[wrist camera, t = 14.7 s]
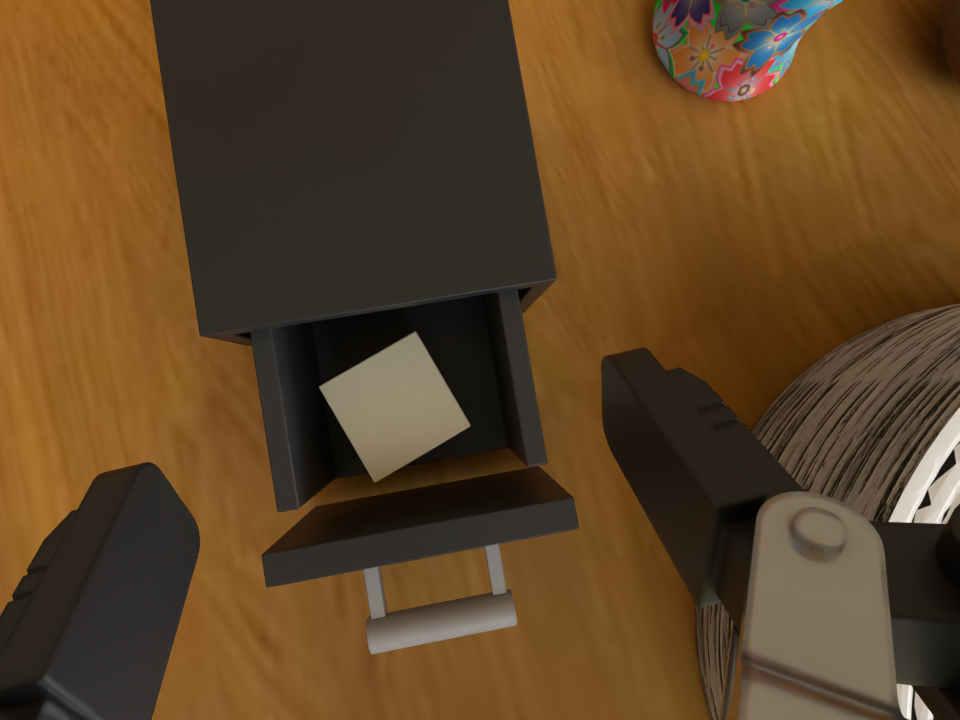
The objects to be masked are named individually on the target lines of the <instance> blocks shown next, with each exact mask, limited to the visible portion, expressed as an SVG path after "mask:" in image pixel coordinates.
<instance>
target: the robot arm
mask: <svg viewBox="0 0 960 720" xmlns="http://www.w3.org/2000/svg"><path fill="white" fill-rule="evenodd" d="M601 374H602V419H603V427H604V432H605V436H606V439H607V442H608V445H609V448H610V450H611V452H612V454H613V456H614V457H615V459H616V461H617V463H618V465H619V466H620V468H621V470H622V472H623V474H624V475H625V477H626V479H627V481H628V483H629V484H630V486H631V488H632V490H633V492H634V493H635V495H636V497H637V499H638V501H639V502H640V504H641V506H642V508H643V509H644V511H645V513H646V515H647V517H648V518H649V520H650V522H651V524H652V526H653V527H654V529H655V531H656V533H657V535H658V536H659V538H660V540H661V542H662V544H663V545H664V547H665V549H666V551H667V553H668V554H669V556H670V558H671V560H672V562H673V563H674V565H675V567H676V569H677V571H678V572H679V574H680V576H681V578H682V579H683V581H684V583H685V585H686V587H687V588H688V590H689V592H690V594H691V596H692V597H693V599H694V601H695V603H696V605H697V606H698V608H703V607H706V606H710V605H714V604H717V603H722V605H723V606H724V608H725V610H726V611H727V613H728V615H729V616H730V618H731V620H732V621H733V623H732V627H731V634H730V641H729V649H728V656H727V664H726V671H725V679H724V686H723V694H722V701H721V709H720V716H719V720H909V719H906V718H905V717H904V716H903V715H902V712H901V710H900V706H899V702H898V695H897V684H904V685H911V686H912V687H913V689H914V690H915V691H916V693H917V694H918V696H919V697H920V698H921V700H922V701H923V702H924V704H925V705H926V706H927V708H928V709H929V710H930V712H931V713H932V715H933V716H934V717H935V719H936V720H960V504H959V505H958V506H957V507H956V508H955V509H954V511H953V513H952V514H951V516H950V518H949V520H948V522H947V523H946V524H935V523H906V522H881V521H871V520H867V519H866V518H865V517H864V516H862V515H861V514H860V513H859V512H857V511H856V510H854V509H853V508H851V507H850V506H848V505H846V504H845V503H843V502H841V501H839V500H836V499H834V498H831V497H829V496H825V495H821V494H818V493H812V492H806V491H805V490H804V489H803V488H802V487H801V486H800V485H799V484H798V483H797V482H796V481H795V480H794V478H793V477H792V476H791V475H790V474H789V473H788V472H787V471H786V470H785V469H784V467H783V466H782V465H781V464H780V463H779V462H778V461H777V460H776V459H775V457H774V456H773V455H772V454H771V453H770V452H769V451H768V450H767V449H766V448H765V446H764V445H763V444H762V443H761V442H760V441H759V440H758V439H757V438H756V436H755V435H754V434H753V433H752V432H751V431H750V430H749V429H748V428H747V426H746V425H745V424H744V423H743V422H742V423H740V421H739V418H738V417H737V415H736V414H735V413H734V412H733V411H732V410H731V409H730V408H729V407H728V406H725V405H724V401H723V400H722V399H721V398H720V397H719V396H718V394H717V393H716V392H715V391H714V390H713V389H712V388H711V387H710V386H709V384H708V383H707V382H706V381H704V380H702V379H700V378H698V377H696V376H694V375H693V374H691V373H689V372H687V371H685V370H683V369H682V368H676V369H672V370H668V371H666V370H665V369H664V368H663V367H662V365H661V364H660V363H659V362H658V361H657V359H656V358H655V357H654V356H653V355H652V353H651V352H650V351H649V350H648V349H647V348H644V347H643V348H638V349H634V350H630V351H625V352H621V353H617V354H613V355H608V356H605V357H603V359H602V364H601ZM199 548H200V537H199V530H198V526H197V523H196V521H195V519H194V517H193V516H192V514H191V513H190V511H189V510H188V509H187V507H186V506H185V504H184V503H183V501H182V500H181V499H180V497H179V496H178V494H177V493H176V491H175V490H174V489H173V487H172V486H171V484H170V483H169V481H168V480H167V479H166V477H165V476H164V474H163V473H162V471H161V470H160V469H159V468H158V467H157V466H156V465H155V464H153V463H150V462H146V463H142V464H138V465H133V466H129V467H125V468H121V469H116V470H112V471H108V472H104V473H101V474H99V475H98V476H97V477H96V478H95V479H94V480H93V482H92V484H91V485H90V487H89V489H88V491H87V493H86V495H85V496H84V498H83V500H82V502H81V504H80V506H79V507H78V509H77V510H74V511H71V512H70V513H69V514H68V516H67V517H66V518H65V519H64V520H63V521H62V522H61V523H60V524H59V525H58V526H57V527H56V528H55V529H54V530H53V531H52V532H51V533H50V534H49V535H48V536H47V537H46V538H45V539H44V541H43V543H42V544H41V546H40V548H39V550H38V551H37V553H36V555H35V557H34V558H33V560H32V562H31V563H30V565H29V567H28V569H27V572H28V574H27V575H26V576H23V577H22V579H21V581H20V583H19V584H18V586H17V588H16V590H15V591H14V593H13V595H12V596H13V601H12V602H8V603H7V605H6V607H5V609H4V610H3V612H2V614H1V616H0V720H151V719H152V716H153V712H154V708H155V705H156V701H157V698H158V694H159V691H160V687H161V684H162V680H163V677H164V673H165V670H166V666H167V663H168V659H169V656H170V652H171V649H172V645H173V642H174V638H175V635H176V631H177V628H178V624H179V621H180V617H181V614H182V610H183V607H184V603H185V600H186V596H187V593H188V589H189V585H190V582H191V578H192V575H193V571H194V568H195V564H196V561H197V557H198V554H199Z"/></svg>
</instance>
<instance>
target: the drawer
mask: <svg viewBox="0 0 960 720" xmlns="http://www.w3.org/2000/svg"><path fill="white" fill-rule="evenodd" d="M415 331H416V332H417V334H418V335H419V337H420V339H421V340H422V342H423V344H424V346H425V347H426V349H427V351H428V352H429V354H430V356H431V358H432V359H433V361H434V363H435V364H436V366H437V368H438V370H439V371H440V373H441V375H442V376H443V378H444V380H445V382H446V383H447V385H448V387H449V388H450V390H451V392H452V394H453V395H454V397H455V399H456V400H457V402H458V404H459V406H460V407H461V409H462V411H463V412H464V414H465V416H466V418H467V419H468V421H469V423H470V425H471V426H470V427H469V428H467V429H465V430H464V431H462V432H460V433H459V434H457V435H455V436H454V437H452V438H450V439H449V440H447V441H445V442H444V443H442V444H440V445H438V446H437V447H435V448H433V449H432V450H430V451H428V452H427V453H425V454H423V455H422V456H420V457H418V458H417V459H415V460H413V461H412V462H410V463H408V464H406V465H405V466H410V465H416V464H421V463H427V462H433V461H438V460H444V459H449V458H455V457H461V456H466V455H472V454H478V453H483V452H489V451H494V450H500V449H506V448H510V449H511V450H512V452H513V453H514V454H515V455H516V456H517V457H518V458H519V459H520V460H521V461H522V462H523V463H524V464H525V465H526V466H527V467H531V468H526V469H520V470H515V471H509V472H503V473H498V474H492V475H487V476H481V477H476V478H470V479H465V480H459V481H454V482H448V483H443V484H437V485H432V486H426V487H420V488H415V489H409V490H404V491H398V492H393V493H387V494H382V495H376V496H371V497H365V498H360V499H354V500H349V501H343V502H337V503H332V504H326V505H321V506H316V507H315V508H313V509H312V510H311V511H310V512H309V513H308V514H307V515H306V516H304V517H303V518H302V519H301V520H300V521H299V522H298V523H297V524H296V525H294V526H293V527H292V528H291V529H290V530H289V531H288V532H287V533H285V534H284V535H283V536H282V537H281V538H280V539H279V540H278V541H277V542H275V543H274V544H273V545H272V546H271V547H270V548H269V549H268V550H266V551H265V552H264V553H263V554H262V562H263V568H264V575H265V582H266V587H268V588H269V587H274V586H279V585H284V584H290V583H295V582H300V581H306V580H311V579H316V578H321V577H327V576H332V575H337V574H343V573H348V572H353V571H358V570H363V571H364V577H365V583H366V590H367V596H368V602H369V609H370V615H371V616H369V617H368V619H367V627H366V631H367V642H368V647H369V650H370V653H371V654H376V653H381V652H386V651H391V650H396V649H401V648H406V647H411V646H416V645H421V644H426V643H431V642H436V641H441V640H446V639H451V638H456V637H461V636H466V635H471V634H476V633H481V632H486V631H491V630H496V629H501V628H506V627H511V626H516V625H517V617H516V611H515V605H514V600H513V596H512V592H511V590H510V589H507V590H506V584H505V578H504V572H503V566H502V560H501V554H500V548H499V544H501V543H506V542H512V541H517V540H522V539H528V538H533V537H538V536H543V535H549V534H554V533H559V532H565V531H570V530H575V529H578V528H579V525H578V519H577V514H576V508H575V502H574V498H573V496H571V495H570V494H569V493H568V492H567V491H566V490H565V489H564V488H562V487H561V486H560V485H559V484H558V483H557V482H556V481H555V480H553V479H552V478H551V477H550V476H549V475H548V474H547V473H546V472H544V471H543V470H542V469H541V468H540V467H539V466H538V465H544V464H547V456H546V451H545V445H544V439H543V433H542V428H541V422H540V416H539V410H538V404H537V399H536V393H535V387H534V381H533V376H532V370H531V364H530V358H529V352H528V347H527V341H526V335H525V329H524V323H523V318H522V312H521V306H520V300H519V295H518V289H516V290H510V291H504V292H497V293H491V294H485V295H479V296H472V297H466V298H460V299H453V300H447V301H441V302H435V303H428V304H422V305H416V306H409V307H403V308H397V309H391V310H384V311H378V312H372V313H365V314H359V315H353V316H347V317H340V318H334V319H328V320H321V321H315V322H309V323H303V324H296V325H290V326H284V327H277V328H271V329H265V330H259V331H252V332H250V335H251V342H252V348H253V355H254V361H255V368H256V374H257V381H258V388H259V394H260V401H261V407H262V414H263V420H264V427H265V433H266V440H267V446H268V453H269V459H270V466H271V473H272V479H273V486H274V492H275V499H276V505H277V511H278V512H284V511H289V510H295V509H298V508H300V507H301V506H302V505H303V504H305V503H306V502H307V501H308V500H310V499H311V498H312V497H313V496H314V495H316V494H317V493H318V492H319V491H321V490H322V489H323V488H324V487H326V486H327V485H328V484H329V483H331V482H332V481H333V480H334V479H337V478H343V477H348V476H354V475H359V474H365V473H368V471H367V469H366V468H365V466H364V464H363V463H362V461H361V459H360V457H359V456H358V454H357V452H356V450H355V449H354V447H353V445H352V444H351V442H350V440H349V438H348V437H347V435H346V433H345V431H344V430H343V428H342V426H341V425H340V423H339V421H338V419H337V418H336V416H335V414H334V412H333V411H332V409H331V407H330V406H329V404H328V402H327V400H326V399H325V397H324V395H323V393H322V392H321V390H320V388H319V386H320V385H322V384H324V383H326V382H327V381H329V380H331V379H333V378H334V377H336V376H338V375H339V374H341V373H343V372H345V371H346V370H348V369H350V368H352V367H353V366H355V365H357V364H359V363H360V362H362V361H364V360H366V359H367V358H369V357H371V356H373V355H374V354H376V353H378V352H380V351H381V350H383V349H385V348H387V347H388V346H390V345H392V344H394V343H395V342H397V341H399V340H401V339H402V338H404V337H406V336H408V335H409V334H411V333H413V332H415ZM533 466H537V467H533ZM403 467H404V466H403ZM480 547H484V548H485V554H486V560H487V566H488V572H489V578H490V584H491V590H492V592H491V593H486V594H481V595H476V596H471V597H466V598H461V599H456V600H450V601H445V602H440V603H435V604H430V605H425V606H420V607H414V608H409V609H404V610H399V611H394V612H389V613H386V612H387V607H386V600H385V594H384V588H383V582H382V575H381V569H380V566H385V565H390V564H395V563H401V562H406V561H411V560H417V559H422V558H427V557H432V556H438V555H443V554H448V553H454V552H459V551H464V550H469V549H475V548H480Z"/></svg>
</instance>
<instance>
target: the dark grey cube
mask: <svg viewBox="0 0 960 720" xmlns="http://www.w3.org/2000/svg"><path fill="white" fill-rule="evenodd" d="M150 4H151V11H152V18H153V25H154V31H155V38H156V45H157V51H158V58H159V65H160V71H161V78H162V85H163V92H164V98H165V105H166V112H167V118H168V125H169V132H170V139H171V145H172V152H173V159H174V165H175V172H176V179H177V185H178V192H179V199H180V206H181V212H182V219H183V226H184V232H185V239H186V246H187V253H188V259H189V266H190V273H191V279H192V286H193V293H194V300H195V306H196V313H197V320H198V326H199V333H200V336H202V337H207V338H213V339H218V340H223V341H228V342H233V343H238V344H242V345H247V346H252V342H251V335H250V332H252V331H259V330H265V329H271V328H277V327H284V326H290V325H296V324H303V323H309V322H315V321H321V320H328V319H334V318H340V317H347V316H353V315H359V314H365V313H372V312H378V311H384V310H391V309H397V308H403V307H409V306H416V305H422V304H428V303H435V302H441V301H447V300H453V299H460V298H466V297H472V296H479V295H485V294H491V293H497V292H504V291H510V290H516V289H518V295H519V300H520V306H521V312H522V314H523V313H524V312H525V311H526V310H527V309H528V308H529V307H530V306H531V305H532V304H533V303H534V302H535V301H536V300H537V299H538V298H539V297H540V296H541V295H542V294H543V293H544V292H545V291H546V290H547V289H548V288H549V287H550V286H551V285H552V284H553V283H554V282H555V281H556V280H557V275H556V269H555V264H554V258H553V252H552V247H551V241H550V235H549V230H548V224H547V218H546V212H545V207H544V201H543V195H542V190H541V184H540V178H539V173H538V167H537V161H536V156H535V150H534V144H533V139H532V133H531V127H530V122H529V116H528V110H527V105H526V99H525V93H524V88H523V82H522V76H521V71H520V65H519V59H518V53H517V48H516V42H515V36H514V31H513V25H512V19H511V14H510V8H509V2H508V0H150Z"/></svg>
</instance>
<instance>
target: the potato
mask: <svg viewBox="0 0 960 720" xmlns="http://www.w3.org/2000/svg"><path fill="white" fill-rule="evenodd" d="M939 27H940V32H941V37H942V42H943V47H944V51H945V55H946V58H947V62H948V65H949V68H950V69H951V71H952V73H953V75H954V76H955V78H956V80H957V82H958V83H959V84H960V0H942V6H941V16H940V26H939Z"/></svg>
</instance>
